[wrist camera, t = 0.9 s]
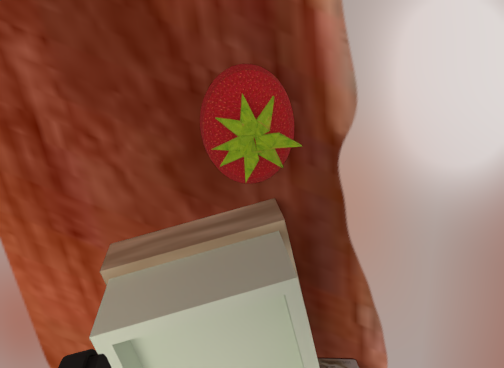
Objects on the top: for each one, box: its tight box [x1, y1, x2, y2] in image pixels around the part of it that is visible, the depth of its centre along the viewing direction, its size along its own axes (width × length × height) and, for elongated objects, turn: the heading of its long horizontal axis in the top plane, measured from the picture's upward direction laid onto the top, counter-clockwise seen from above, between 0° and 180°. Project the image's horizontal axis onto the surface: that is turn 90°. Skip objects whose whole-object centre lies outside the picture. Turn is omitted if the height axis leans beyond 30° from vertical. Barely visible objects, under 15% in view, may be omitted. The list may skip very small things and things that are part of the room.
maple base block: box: [100, 198, 317, 355], centre depth 34 cm, size 14×14×4 cm
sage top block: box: [89, 231, 320, 368], centre depth 30 cm, size 13×13×6 cm
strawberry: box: [200, 64, 302, 184], centre depth 26 cm, size 6×8×10 cm
